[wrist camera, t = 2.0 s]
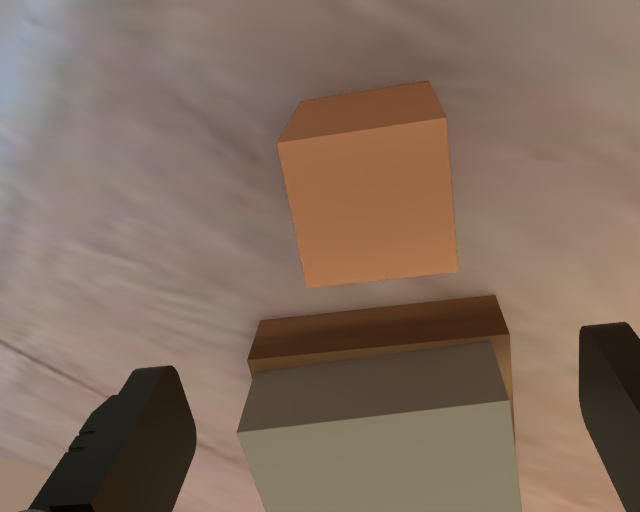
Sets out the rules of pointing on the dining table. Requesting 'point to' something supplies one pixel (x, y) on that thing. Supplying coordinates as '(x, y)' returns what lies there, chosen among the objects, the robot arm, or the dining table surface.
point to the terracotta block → (370, 186)
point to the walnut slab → (382, 335)
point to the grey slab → (384, 434)
